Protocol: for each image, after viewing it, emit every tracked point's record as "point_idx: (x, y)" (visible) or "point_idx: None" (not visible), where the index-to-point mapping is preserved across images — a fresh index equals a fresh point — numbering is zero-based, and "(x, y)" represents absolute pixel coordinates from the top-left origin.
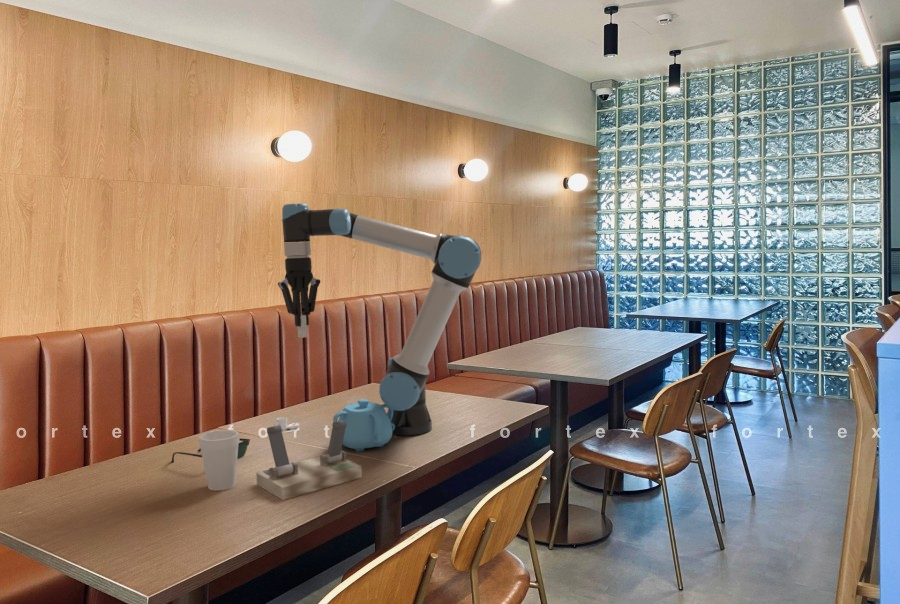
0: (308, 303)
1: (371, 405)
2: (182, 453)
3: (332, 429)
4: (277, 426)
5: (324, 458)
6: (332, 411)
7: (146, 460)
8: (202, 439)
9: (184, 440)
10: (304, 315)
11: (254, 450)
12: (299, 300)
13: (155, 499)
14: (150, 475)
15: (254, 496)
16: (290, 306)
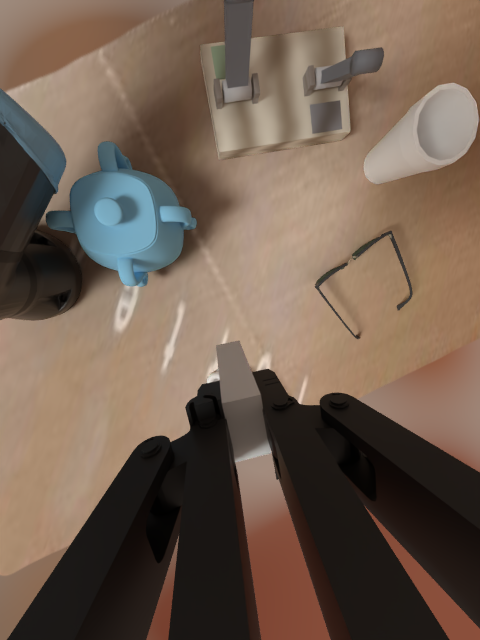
0: (160, 561)
1: (93, 216)
2: (408, 279)
3: (252, 8)
4: (365, 52)
5: (257, 75)
6: (130, 441)
7: (420, 331)
8: (477, 112)
9: (360, 394)
10: (233, 400)
11: (297, 299)
12: (319, 518)
13: (455, 165)
14: (433, 266)
15: (359, 89)
16: (402, 431)
